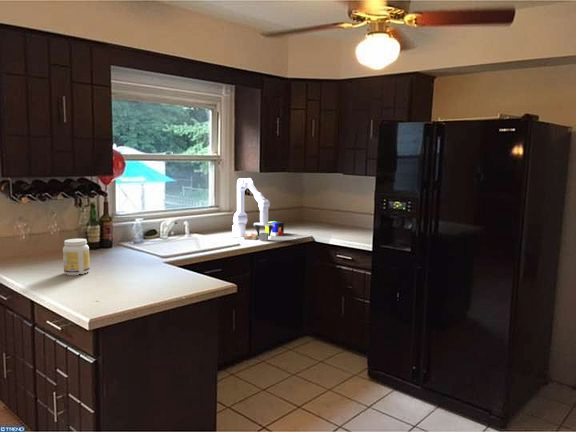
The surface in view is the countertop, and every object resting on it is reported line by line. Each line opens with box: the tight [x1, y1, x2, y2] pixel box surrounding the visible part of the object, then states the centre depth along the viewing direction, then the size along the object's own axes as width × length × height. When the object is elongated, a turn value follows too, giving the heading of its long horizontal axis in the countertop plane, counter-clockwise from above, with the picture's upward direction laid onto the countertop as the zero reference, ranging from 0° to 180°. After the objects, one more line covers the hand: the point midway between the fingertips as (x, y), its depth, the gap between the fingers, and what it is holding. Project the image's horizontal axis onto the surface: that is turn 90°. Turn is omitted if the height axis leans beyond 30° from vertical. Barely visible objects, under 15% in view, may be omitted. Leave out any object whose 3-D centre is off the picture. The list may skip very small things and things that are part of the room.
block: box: [259, 232, 269, 242], centre depth 332 cm, size 5×5×5 cm
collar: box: [243, 233, 259, 241], centre depth 338 cm, size 8×8×3 cm
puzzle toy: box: [264, 220, 285, 237], centre depth 357 cm, size 10×10×10 cm
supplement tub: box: [62, 238, 91, 276], centre depth 237 cm, size 12×12×17 cm
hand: (264, 236), depth 332 cm, fingers open, 7 cm apart
